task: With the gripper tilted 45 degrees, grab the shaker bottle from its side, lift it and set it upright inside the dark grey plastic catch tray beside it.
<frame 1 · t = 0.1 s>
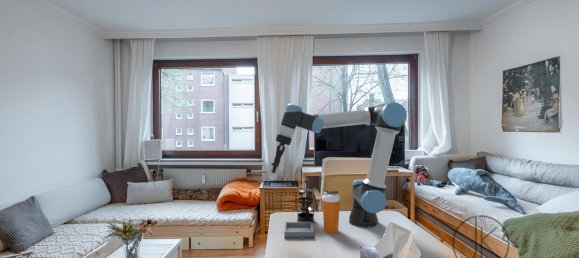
hand: (271, 176, 145), 28 cm above the table, tool tilted 20°, fingers open, 13 cm apart
french press: (305, 220, 164), on the table
catch tray: (298, 232, 146), on the table
shaker bottle: (331, 231, 148), on the table
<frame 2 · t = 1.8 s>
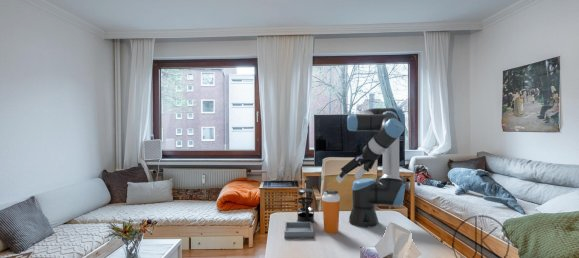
hand: (347, 179, 140), 27 cm above the table, tool tilted 45°, fingers open, 13 cm apart
nothing on the table moved.
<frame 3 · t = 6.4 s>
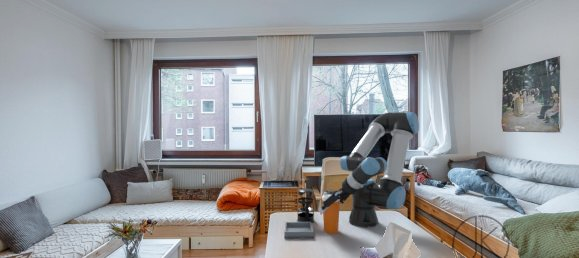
hand: (325, 210, 150), 10 cm above the table, tool tilted 45°, fingers closed on shaker bottle, 9 cm apart
shaker bottle: (331, 231, 148), on the table, touching gripper
everything else where it was.
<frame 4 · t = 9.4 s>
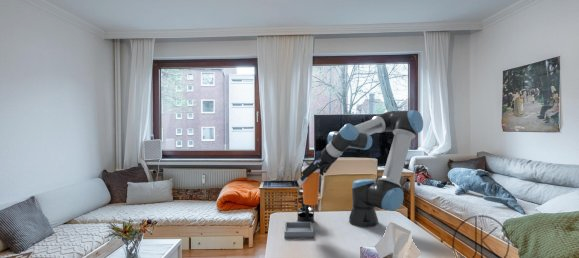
hand: (305, 182, 147), 25 cm above the table, tool tilted 45°, fingers closed on shaker bottle, 9 cm apart
shaker bottle: (310, 203, 144), point 15 cm above the table, touching gripper
everything else where it was.
when the fingers open (12 cm above the table, at t = 12.5 s): shaker bottle drops 1 cm, resting on catch tray.
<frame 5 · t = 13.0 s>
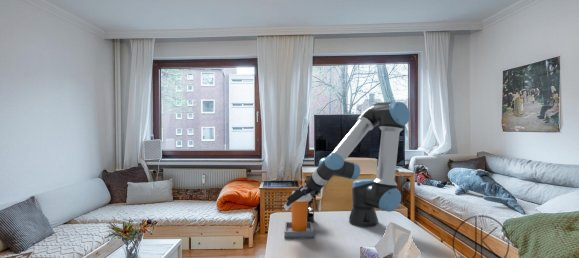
hand: (295, 205, 147), 13 cm above the table, tool tilted 45°, fingers open, 13 cm apart
shaker bottle: (299, 231, 146), point 1 cm above the table, touching catch tray
everything else where it was.
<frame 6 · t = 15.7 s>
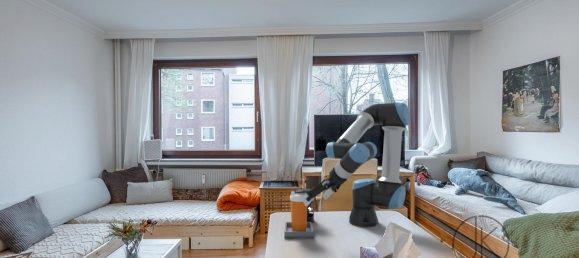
hand: (314, 200, 138), 18 cm above the table, tool tilted 45°, fingers open, 13 cm apart
nothing on the table moved.
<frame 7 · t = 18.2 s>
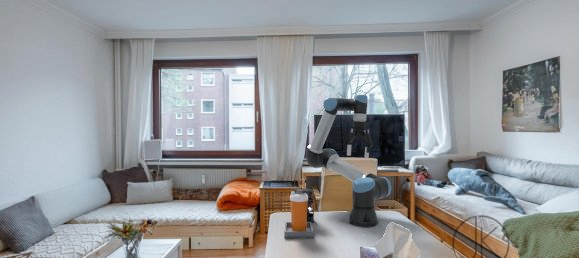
hand: (357, 156, 176), 33 cm above the table, tool pointing down, fingers open, 13 cm apart
nothing on the table moved.
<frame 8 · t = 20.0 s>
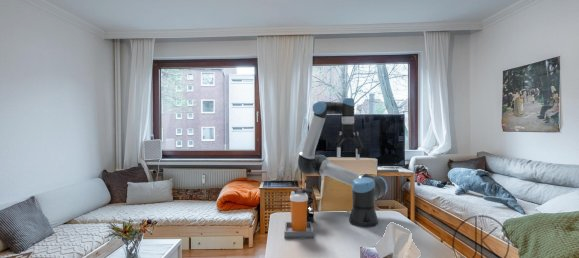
hand: (348, 158, 180), 32 cm above the table, tool pointing down, fingers open, 13 cm apart
nothing on the table moved.
at the end: shaker bottle 0.2 cm off-centre on the catch tray, point 0.6 cm above the catch tray's base; shaker bottle tilted 0°; the gripper is holding nothing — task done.
